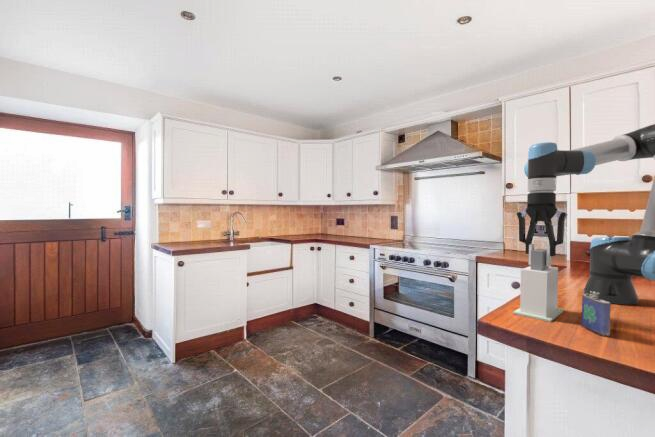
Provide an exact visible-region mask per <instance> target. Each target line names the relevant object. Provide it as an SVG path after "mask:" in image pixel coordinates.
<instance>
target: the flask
mask: <svg viewBox="0 0 655 437" xmlns="http://www.w3.org/2000/svg"><path fill="white" fill-rule="evenodd" d="M590 293H592V294H583V293H582V300H581V301H582V302H581V319H580V320H581V321H580V326H581V327H583V329H586V330H588V331H589V332H591V333H594V334H596V335H598V336H601V337H605V338H606V337H610V336H611V305H612V303H610V302H607V301H604V300H601V299H599V298H598V297H599V296H598V295H599V294H600V293H599V292H598V293H596V292H594V291H593V292H592V291H590Z"/></svg>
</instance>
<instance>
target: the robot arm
mask: <svg viewBox="0 0 655 437" xmlns="http://www.w3.org/2000/svg"><path fill="white" fill-rule="evenodd" d="M527 155H528V156H527V162H526V163H525V164H524V167H523V172H524V174H525V176H526V177H527V191H528V192H529V193H528V194H527V198H526V200H527V201H526V202H527V203H526V204H527V205H526V208H525V210H523V211H518V212H516V217H517V218H518V240H519V242H521V243H524V244H525V250H524V251H525V254H526V255H528V265H529V266H531V250H535V244H534V243H533V238H534V235H535V232H536V228H537V225H538V222H542V223H544V225H545V229H546V234H547V235H546V236H547V238H548V243H549V244H548V245H546V249H547V256H546V267H552V260H553V259H552V258H553V257H555V256H556V248H557V246H559V245H562V244H564V239H565V238H564V234H565V222H566V221H565V220H566V219H567V216H568V213H567V212H563V211H561V210H558V208H557V207H556V206H557V204H556V203H557V194H556V192H555V191H556V190H557V177H563V176H569V175H577V176H579V175H587V174H589V173H591V172H592V171H593V170H594V168H596V166H599V165H603V164H607V163H611V162H616V161H618V162H628V161H631V160H640V159H651V158H652V159H653V160H655V123H654V124H651V125H647V126H644V127H641V128H639V129H637V130H636V129H635V130H634V131H631V132H628V133H625V134H621V135H617V136H615V137H613V138H612V139H611V140H608V141H607V140H606V141H604V142H600V143H599V142H598V143H595V144H591V145H587V146H582V147H578V148H575V149H571V150H570V149H569V150H561V149H560V150H559V148H558V145H557V143H556V142H550V141H548V142H538V143H534V144H531V145H530V146H529V148H528V153H527ZM527 215H528V217H529V218H530V221H529V226H528V230H527V234H526V217H527ZM555 215H556V218H557V226H556V227H557V230H556V236H555V233H554V229H553V222H552V219H553V218H554V216H555ZM633 277H638V278H644V279H647V280H651V281H655V176H654V177H653V181H652V186H651V189H650V192H649V196H648V200H647V204H646V208H645V211H644V214H643V219H642V223H641V226H640V230H639V231H638V232H635V233H632V237H631V236H609V237H607V236H606V237H595V238H592V239H591V240H590V247H589V277H588V279H587V282H586V284H585V287H584V289H583V293H582V295H583V294H592V293H590V291H592V292H593V291H594V292H596V293H598V292H599V293H600V294H599V295H598V296H599V297H598V298H599V299H601V300H604V301H607V302H610V303H611V304H615V305H627V306H628V305H629V306H630V305H631V306H632V305H637V304H638V303H639V296H638V295H637V291H636V288H635V285H634V283H633V279H632V278H633Z"/></svg>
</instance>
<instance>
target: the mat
mask: <svg viewBox="0 0 655 437" xmlns="http://www.w3.org/2000/svg"><path fill="white" fill-rule="evenodd" d="M564 311H565V309H564V308H562V307H557V309H556V310H555V311H554V312H553V313H551V314H550V315H549V316H548V317H541V316H537V315H532V314H527V313H523V312H520V307H519V308H517V309H515V310H514V311H513V312H512V314H514V315H517V316H523V317H527V318H531V319H535V320H536V319H537V320H540V321H545V322H549V323H552V322H553V320H555V319H556V318H557V317H559V316H560V315H561V314H562V313H563V312H564Z"/></svg>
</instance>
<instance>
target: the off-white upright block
mask: <svg viewBox="0 0 655 437" xmlns="http://www.w3.org/2000/svg"><path fill="white" fill-rule="evenodd" d="M546 256H547V248H534V250H531V265H529V266H527V267H524V268H522V269H520V288H519V289H520V291H519V292H520V296H519V297H520V298H519V299H520V300H519V304H520V305H519V308H520V312H523V313H527V314H532V315H537V316H541V317H548V316H549V315H550V314H551V313H553V312H554V311H555V310H556V309H557V308H558V295H559V294H558V290H559V284H558V283H559V267H555V266H550V267H546Z"/></svg>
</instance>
